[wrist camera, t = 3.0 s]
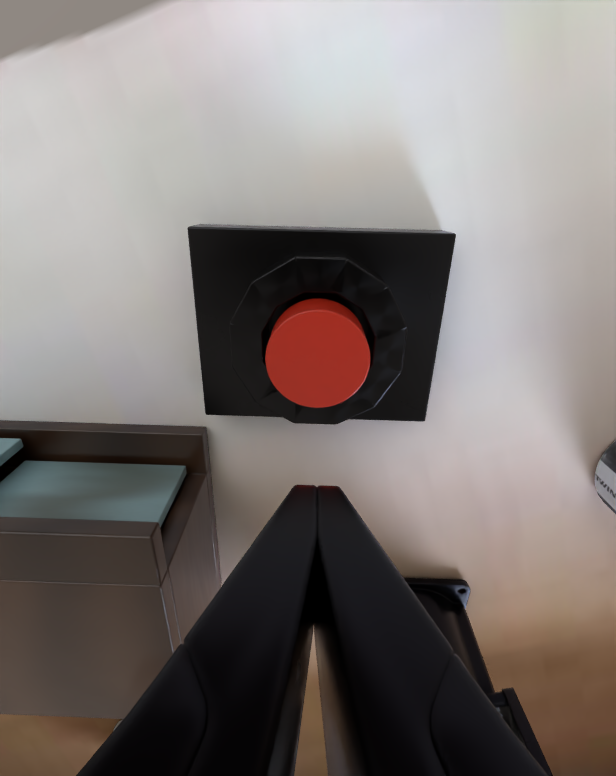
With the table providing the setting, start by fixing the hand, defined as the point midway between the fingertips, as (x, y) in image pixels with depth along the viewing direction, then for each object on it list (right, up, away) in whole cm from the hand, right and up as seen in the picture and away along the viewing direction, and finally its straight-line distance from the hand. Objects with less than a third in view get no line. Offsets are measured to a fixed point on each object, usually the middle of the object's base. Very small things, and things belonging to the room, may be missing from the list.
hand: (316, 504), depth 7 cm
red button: (0, +4, +8) cm, 9 cm away
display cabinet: (-14, -5, +16) cm, 22 cm away
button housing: (0, +5, +11) cm, 12 cm away
